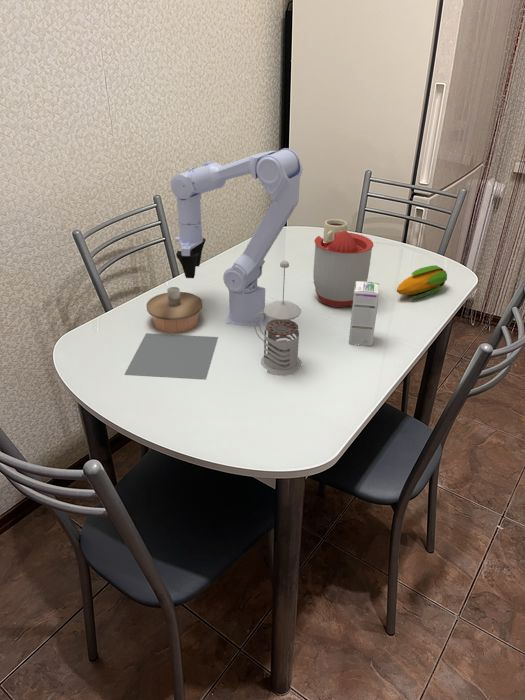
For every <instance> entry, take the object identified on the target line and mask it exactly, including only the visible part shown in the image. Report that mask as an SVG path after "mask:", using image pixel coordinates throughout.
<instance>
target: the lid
mask: <svg viewBox="0 0 525 700" xmlns="http://www.w3.org/2000/svg"><path fill="white" fill-rule="evenodd" d="M201 310H203V300H202V299H201V298H200V297H199V296H198V295H196V294H193V293H190V292H184V291H180V288H179V287H177V286H171V287H168V288H167V291H166V292H164V293H160V294H157V295H155V296H152V297H151V298H150V299H149V300H148V301H147V302H146V312H147V314H149V315H150V316H151V317H152V318H153V317H156V318H159V319H164V320H179V319H185V318H189V317H191V316H194V315H196V314H197V313H198V314H199V313H200V312H201Z"/></svg>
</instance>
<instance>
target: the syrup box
mask: <svg viewBox="0 0 525 700" xmlns="http://www.w3.org/2000/svg"><path fill="white" fill-rule="evenodd" d="M379 294H380V283H379V282H372V281H367V282H363V281H356V284H355V288H354V297H353V305H352V306H351V307H352V308H351V309H352V310H351V316H350V326H349V327H350V329H349V337H348V344H349V345H354V344H357V345H356V346H361V345H367V346H366V347H372V346H373V340H374V334H375V328H376V327H375V325H376V321H377V312H378V303H379ZM358 344H359V345H358Z"/></svg>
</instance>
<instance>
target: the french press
mask: <svg viewBox="0 0 525 700" xmlns="http://www.w3.org/2000/svg"><path fill="white" fill-rule="evenodd" d="M279 266H280V268H282V269H283V281H282V282H283V283H282V285H283V286H282V288H283V289H282V300H275V301H273V302H270V303H268V304H267V305H266V304H265V308H264V310H263V311H262V312H261V313H264V314H265V315H264V319H267V318H268V317H269V318H271V319H272V320H270V321H268V322H267V323H266V324H265V330H264V332H263V330H262V328H261V325H260V324H259V318H260V315H261V313H259V314H258V315H259V317H258V325H257V326H258V327H259V330H260V332H261V334H262V335H263V336H264V339H263V338H262V337H261V336H260V335H259V334H258V331H257V329H256V325H255V321H256V318H257V316H258V315H257V316H256V318H255V320H254V325H253V326H254V327H253V328H254V331H255V334H256V335H257V337H258V338H259V339H260V340H261V341H262V342H263V356H262V357H261V359H260V364H261V366H262V367H263V368H264V369H265V370H267V371H266V372H267V374H270V375H274V376H288V375H292V374H295V373H297V372H299V369H300V370H301V368H300V367H302V366H301V363H302V360H301V359H300V358H299V357H298V356H299V343H300V342H299V341H300V340H299V339H300V330H299V325H298V324H297V323H296V322H295V321H293V320H295V319H296V318H299V316H300V315H301V314H302V308H301V307H300V306H299V305H297V303H294V302H292V301H289V300H285V299H284V298H285V280H286V277H285V276H286V268H289V267H290V263H289V261H288V260H285V259H284V260H281V261H280V263H279ZM293 334H294V335H293ZM290 336H291V337H290ZM292 338H293V339H292ZM281 339H283V340H281Z"/></svg>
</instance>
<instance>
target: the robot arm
mask: <svg viewBox="0 0 525 700" xmlns="http://www.w3.org/2000/svg"><path fill="white" fill-rule="evenodd" d="M302 174H303V167H302V163H301V160H300V157H299V155H298V154H297V152H296V151H294V150H293V149H291V148H288V147H287V148H286V147H284V148H281V149H280V150H278V151H277V150H270V151H264V152H259V153H255V154H252V155H250V156H248V157H245V158H242V159H239V160H235V161H234V162H233V161H232V162H230V163H228V164H225V165H221V164H220V163H218V162H216V161H215V162H212V160H210V161H206V162H204V163H203V166H199V167H194V166H193V167H191V168H188V171H184V172H181V173H178V174H176V175H175V176H173V177H172V179H171V181H170V189H171V193H173V195H174V196H175V197H176V205H177V218H178V219H177V221H178V234H179V235H177V236H176V237H175V238H174V241H175V242H179V244H180V248H181V249H180V250H176V253H175V254H176V259H177V260H178V261H179V263H180V264H181V266H182V270H183V273H184V277H185V279H195V276H196V267H200V264H201V260H202V253H203V248H204V245H205V243H206V238H205V237H204V238H203V227H202V209H201V208H202V207H201V200H202V194H205V193H208V192H212V191H214V190H217V189H221V188H223V187H224V186H225V184H226V181H227V180H231V179H234V178H239V177H243V176H246V175H250V176H251V177H252V178H253V179H255V180H256V179H258V180H259V182H260V183H261V184H262V186H263V188H264V189H265V190H266V191H265V192H267V194H268V195H269V196H270V199H271V204H270V205H269V207H268V209H267V211H266V212H265V214H264V216H263V218H262V219H261V221H260V222H259V224H258V226H257V228H256V230H255V232H254V233H253V234H252V235H253V236H252V237H251V239H250V240H249V242H248V244H247V245H246V247H245V249H244V251H243V253H242V254H241V255H240V256H239V257H238V258H237V259H236V261H235V262H234V263H233V265H232V266H231V267H230V268H228V269H225V271H224V273H223V277H222V278H223V279H222V280H223V283H224V285H225V287H226V288H227V289H228V302H229V305H228V308H229V311H228V314H227V319H226V322H225V323H226V324H227V325H245V326H254V320H255V318H256V316H257V315H258V314H259V313H261V312H262V311H263V310H264V308H265V307H266V288H265V287H263V286H258V280H259V278H260V277H261V276H262V274H263V266H264V265H265V261H266V260H265V258H266V256H267V254H268V253H269V251H270V250H271V248H272V246H273V244H274V243H275V242H276V240H277V238H278V236H279V235H280V233H281V232H282V230H283V229H284V227H285V225H286V223H287V222H288V221H289V219H290V218H291V215H292V213H293V212H294V210H295V209H296V207H297V205H298V203H299V200H300V199H299V198H300V197H299V196H300V186H301V185H300V183H301V181H300V180H301V176H302ZM258 317H259V315H258V316H257V318H256V321H255V326H259V325H258ZM264 319H265V314H264V313H261V315H260V318H259V324H260V326H263V325H264Z"/></svg>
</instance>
